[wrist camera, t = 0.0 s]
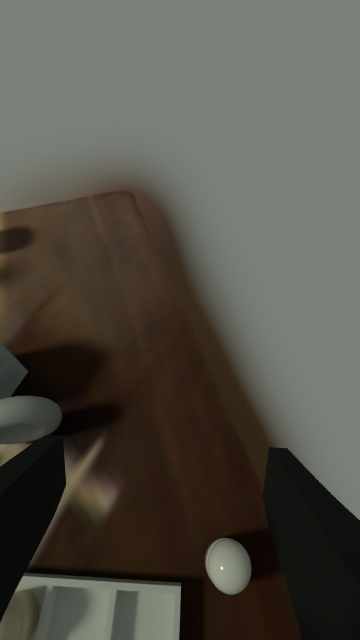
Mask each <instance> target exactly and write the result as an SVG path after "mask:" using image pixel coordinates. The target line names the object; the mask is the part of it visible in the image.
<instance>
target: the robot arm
mask: <svg viewBox="0 0 360 640" xmlns="http://www.w3.org/2000/svg"><path fill="white" fill-rule="evenodd" d="M65 486H66V475H65V461H64V446H63V436H58V435H45V436H43V437H42V438H40V439H39V440H37V441H36V442H34V443H33V444H31V445H30V446H29V447H27V448H26V449H24V450H23V451H22V452H20V453H19V454H17V455H16V456H15V457H13V458H12V459H10V460H9V461H7V462H6V463H5V464H3V465H2V466H0V623H1V620H2V618H3V616H4V613H5V611H6V609H7V607H8V605H9V603H10V601H11V598H12V596H13V594H14V592H15V590H16V588H17V586H18V584H19V583H20V581H21V579H22V577H23V575H24V573H25V571H26V569H27V567H28V565H29V563H30V561H31V560H32V558H33V556H34V554H35V552H36V550H37V548H38V546H39V544H40V542H41V540H42V538H43V536H44V534H45V533H46V531H47V529H48V527H49V525H50V523H51V521H52V519H53V517H54V515H55V512H56V510H57V507H58V505H59V502H60V500H61V497H62V494H63V491H64V489H65ZM263 500H264V506H265V511H266V516H267V521H268V526H269V530H270V534H271V537H272V540H273V543H274V547H275V550H276V553H277V557H278V560H279V563H280V566H281V569H282V573H283V576H284V579H285V582H286V585H287V589H288V592H289V595H290V598H291V601H292V605H293V608H294V611H295V615H296V618H297V622H298V626H299V629H300V633H301V638H302V640H360V520H358V519H357V518H356V517H355V516H354V515H353V514H352V513H351V512H350V511H349V510H348V509H347V508H345V507H344V506H343V505H342V504H341V503H340V502H339V501H338V500H337V499H336V498H335V497H334V496H333V495H332V494H331V493H330V492H329V491H328V490H327V489H326V488H325V487H324V486H323V485H322V484H321V483H320V482H319V481H318V480H317V479H316V478H315V477H314V476H313V475H312V474H311V473H310V472H309V471H308V470H307V469H306V468H305V467H304V466H303V464H302V463H301V462H300V461H299V460H298V459H297V458H296V457H295V456H294V455H293V454H292V453H291V452H290V451H289V450H288V449H287V448H271V447H269V453H268V460H267V468H266V476H265V483H264V490H263Z"/></svg>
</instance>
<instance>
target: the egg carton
mask: <svg viewBox="0 0 360 640" xmlns="http://www.w3.org/2000/svg"><path fill="white" fill-rule="evenodd" d="M180 599H181V583H176V582H161V581H146V580H131V579H115V578H100V577H85V576H70V575H55V574H39V573H24V575H23V577H22V579H21V581H20V583H19V584H18V586H17V588H16V590H15V592H14V594H13V596H12V598H11V601H10V603H9V605H8V607H7V609H6V611H5V613H4V616H3V618H2V620H1V623H0V640H179V627H180Z"/></svg>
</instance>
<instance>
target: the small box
mask: <svg viewBox="0 0 360 640" xmlns="http://www.w3.org/2000/svg"><path fill="white" fill-rule="evenodd" d="M27 373H28V371H27V369H26V368H25V367H24V366H23V365H22V364H21V363H20V362H19V361H18V360H17V359H16V358H15V357H14V356H13V355H12V354H11V353H10V352H9V351H8V350H7V349H6V348H5V347H4V346H3V345H2V344H1V343H0V399H4V398H9V397H11V395H12V394H13V393H14V391H15V390H16V388H17V387H18V385H19V384H20V383H21V381H22V380H23V378H24V377H25V376H26V374H27Z"/></svg>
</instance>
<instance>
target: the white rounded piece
mask: <svg viewBox="0 0 360 640" xmlns="http://www.w3.org/2000/svg"><path fill="white" fill-rule="evenodd" d="M61 420H62V413H61V410H60V408H59V406H58V405H57V404H56V403H54V402H53V401H51V400H50V399H46V398H43V397H36V396H15V397H9V398H4V399H0V444H17V443H25V442H30V441H34V440H37V439H40V438H42V437H43V436H45V435H49V434H51V433H52V432H53V431H55V430H56V429H57V428H58V426H59V424H60V422H61Z"/></svg>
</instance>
